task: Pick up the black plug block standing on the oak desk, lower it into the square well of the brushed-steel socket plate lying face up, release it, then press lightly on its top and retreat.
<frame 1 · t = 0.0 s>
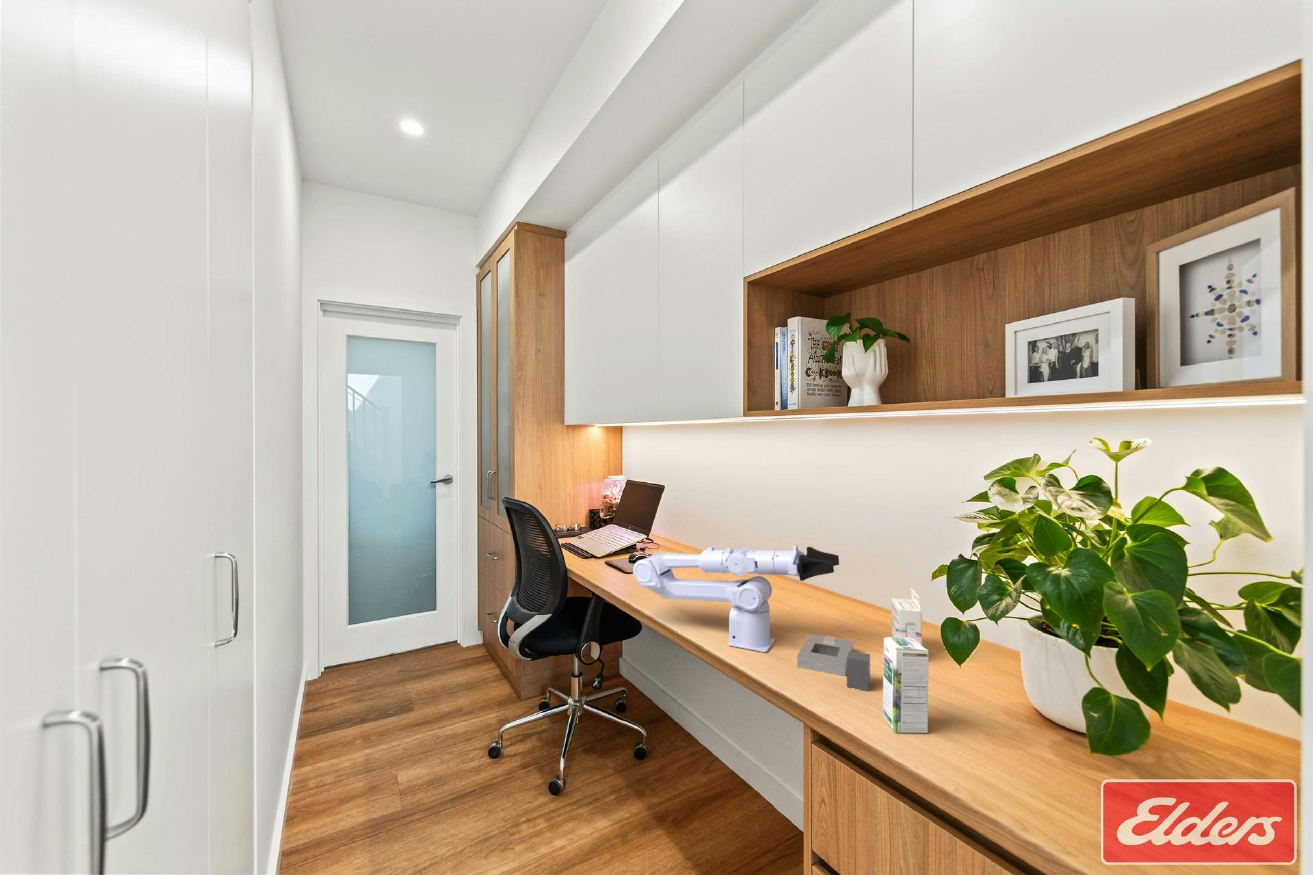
hand: (836, 563, 120), 22 cm above the table, tool horizontal, fingers open, 7 cm apart
socket plate: (826, 659, 121), on the table
plug: (858, 685, 108), on the table
syrup box: (905, 725, 93), on the table
ink cartridge box: (905, 655, 123), on the table
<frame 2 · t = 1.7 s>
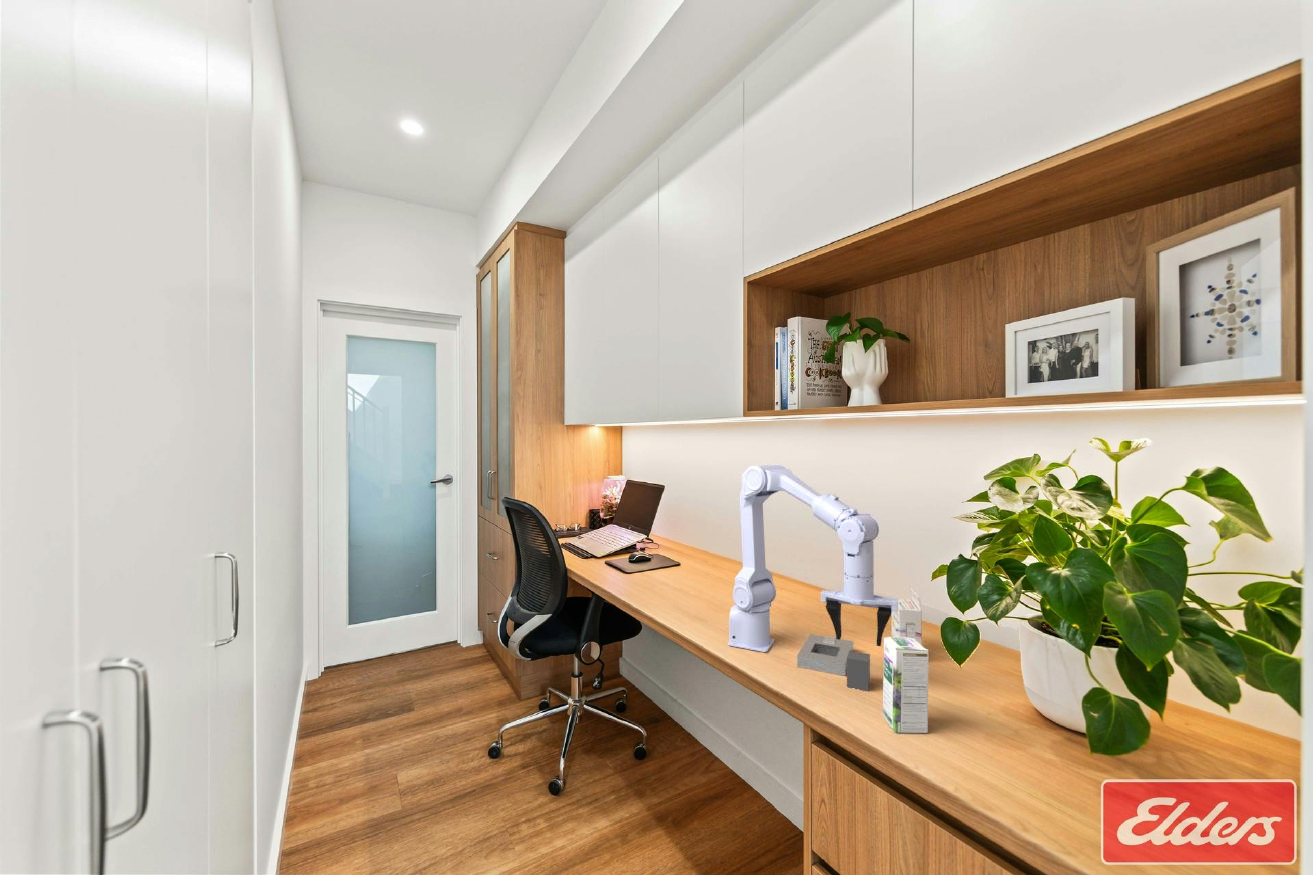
hand: (858, 640, 108), 9 cm above the table, tool pointing down, fingers open, 7 cm apart
nothing on the table moved.
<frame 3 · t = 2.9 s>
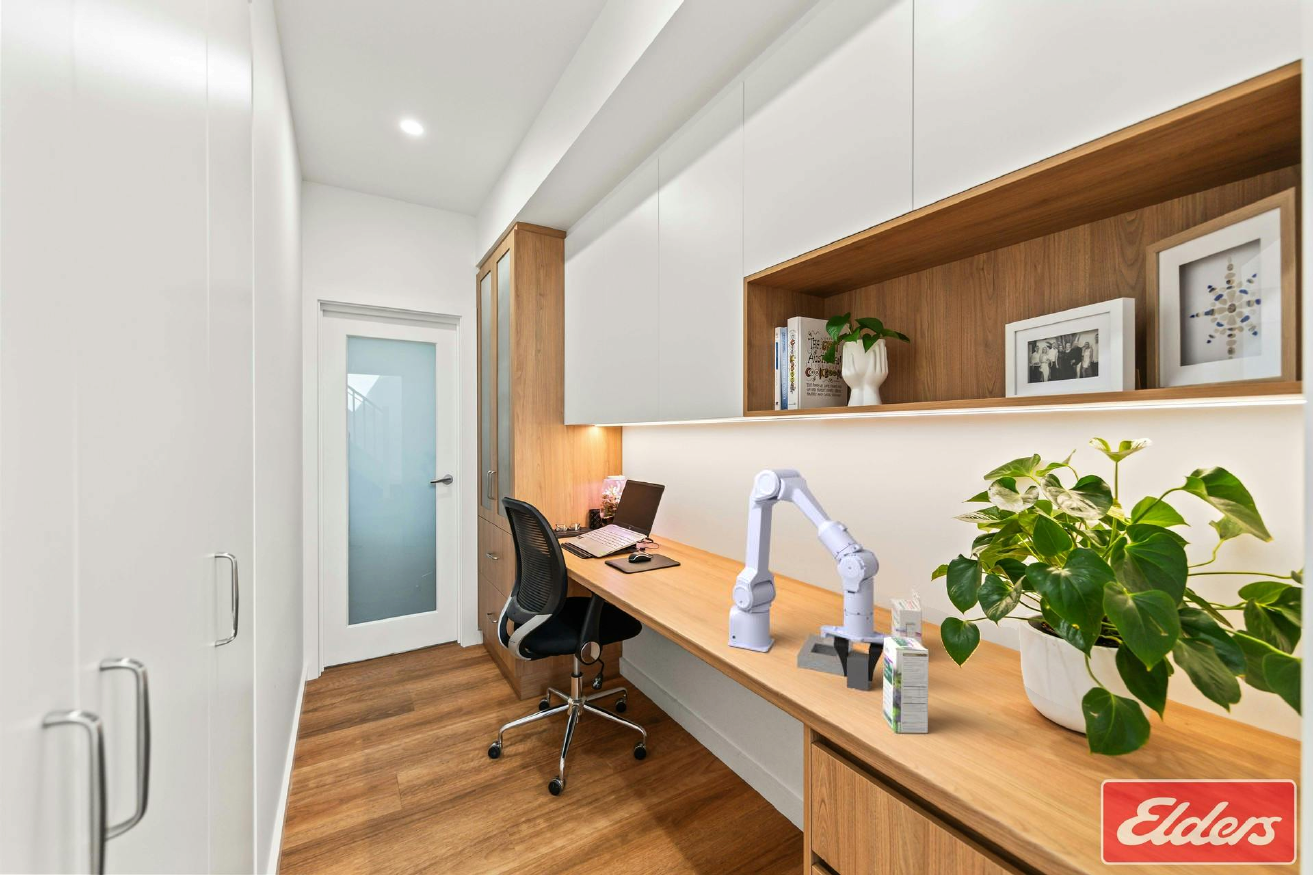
hand: (858, 677, 108), 2 cm above the table, tool pointing down, fingers closed on plug, 4 cm apart
plug: (858, 685, 108), on the table, touching gripper
everything else where it was.
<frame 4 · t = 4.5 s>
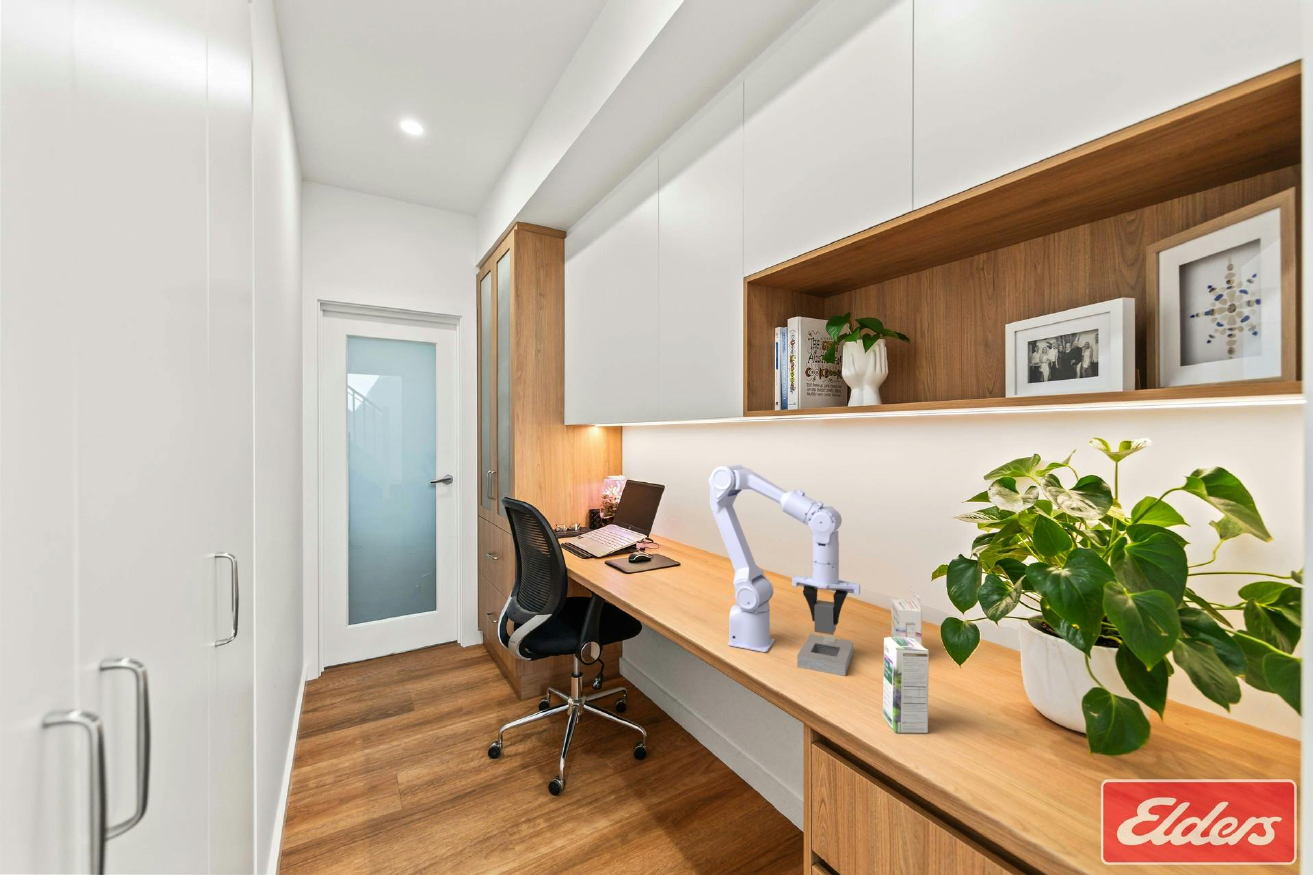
hand: (825, 621, 120), 9 cm above the table, tool pointing down, fingers closed on plug, 4 cm apart
plug: (825, 630, 119), point 7 cm above the table, touching gripper
everything else where it was.
when the fingers open (3 cm above the table, at t = 6.0 s): plug stays where it is, resting on socket plate.
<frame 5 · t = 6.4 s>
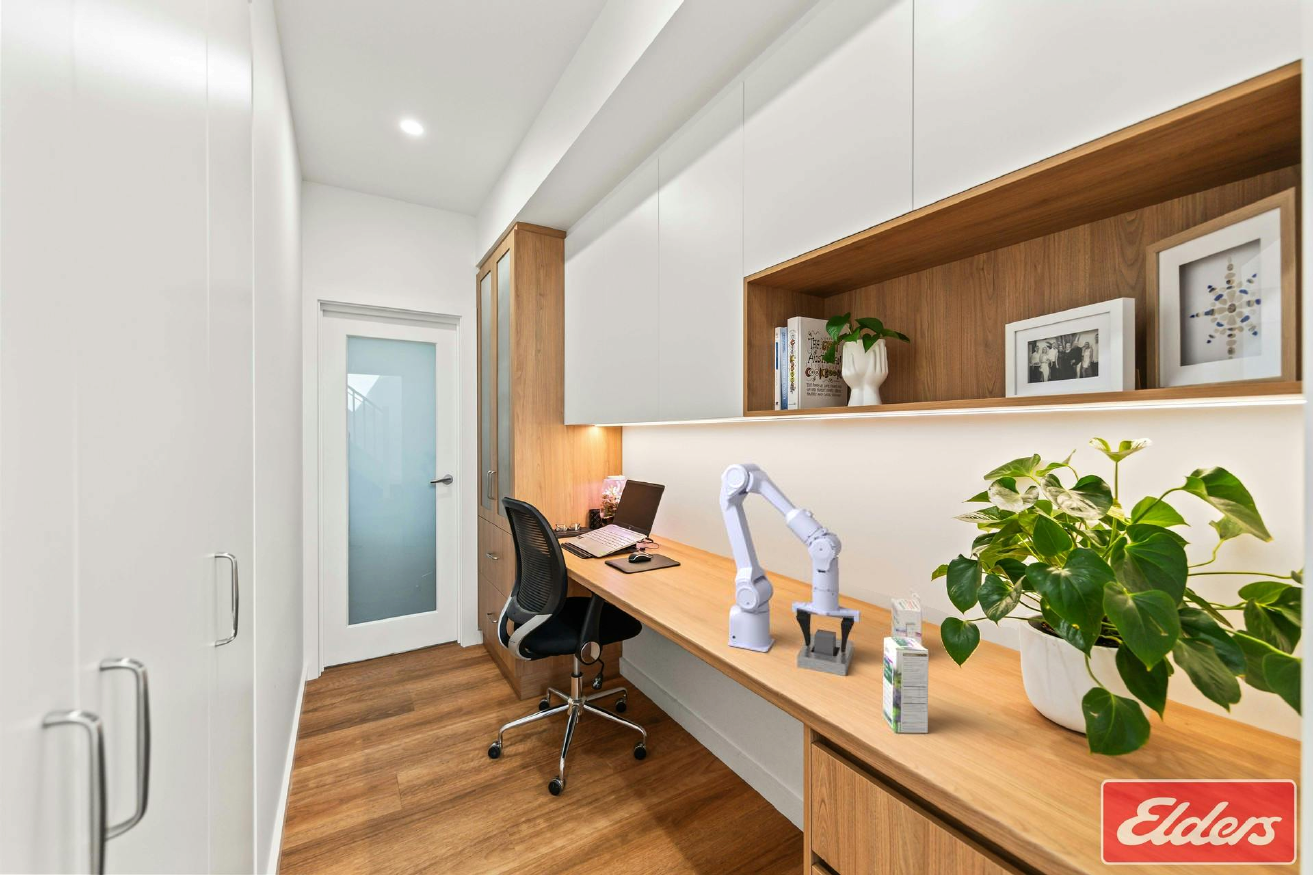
hand: (825, 647, 120), 3 cm above the table, tool pointing down, fingers open, 7 cm apart
plug: (825, 659, 120), resting on socket plate
everything else where it was.
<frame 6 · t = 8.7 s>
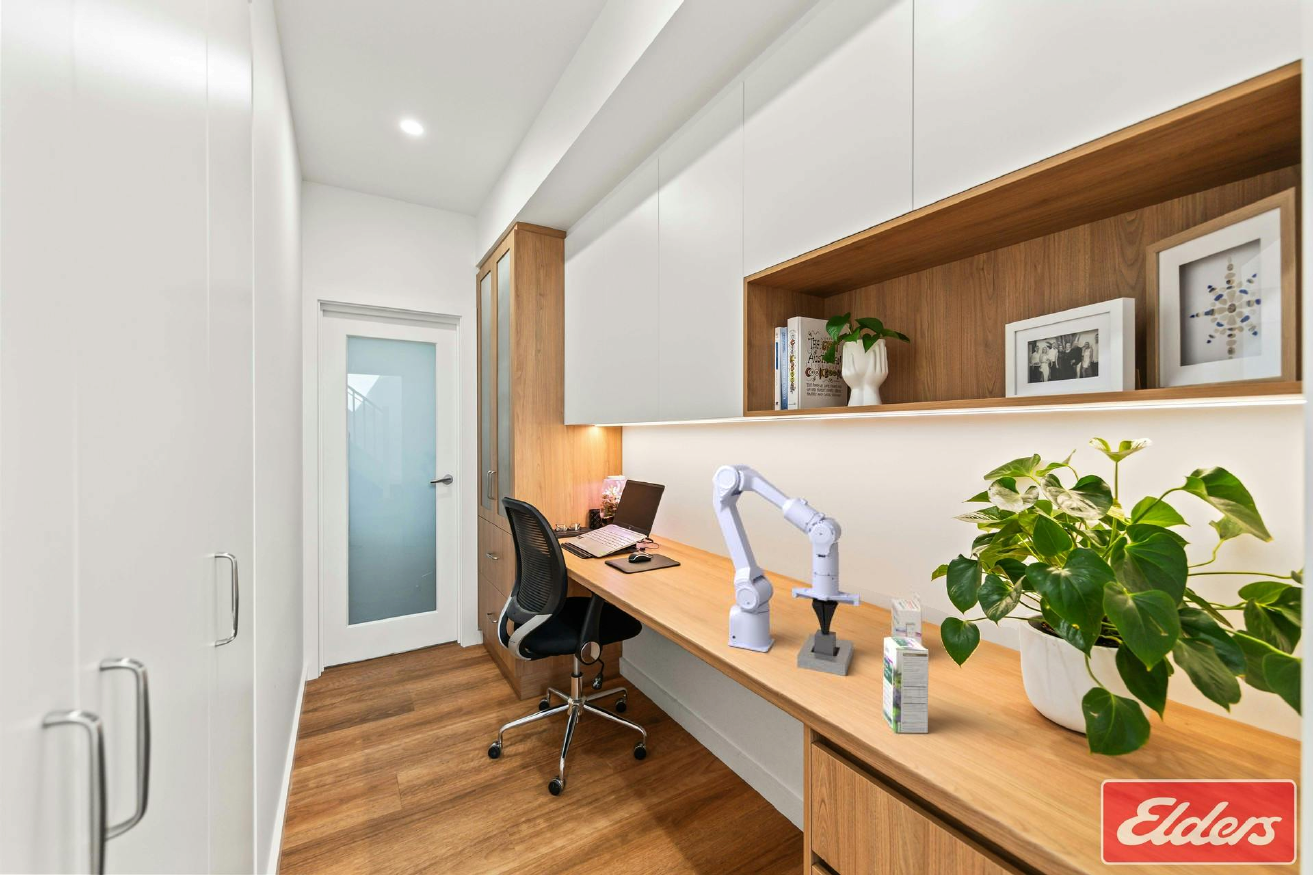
hand: (825, 632, 120), 6 cm above the table, tool pointing down, fingers closed
nothing on the table moved.
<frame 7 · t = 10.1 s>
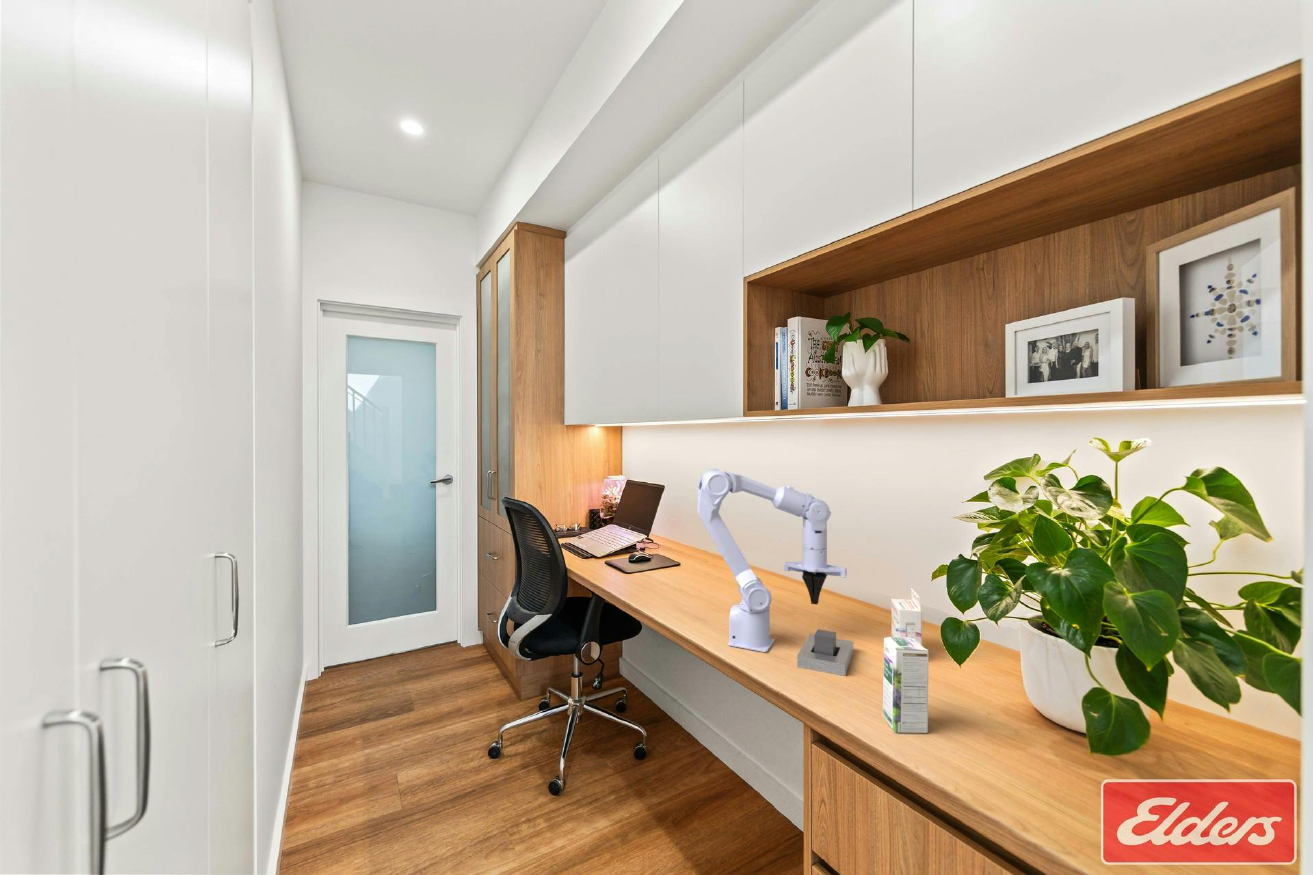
hand: (814, 603, 129), 10 cm above the table, tool pointing down, fingers closed
nothing on the table moved.
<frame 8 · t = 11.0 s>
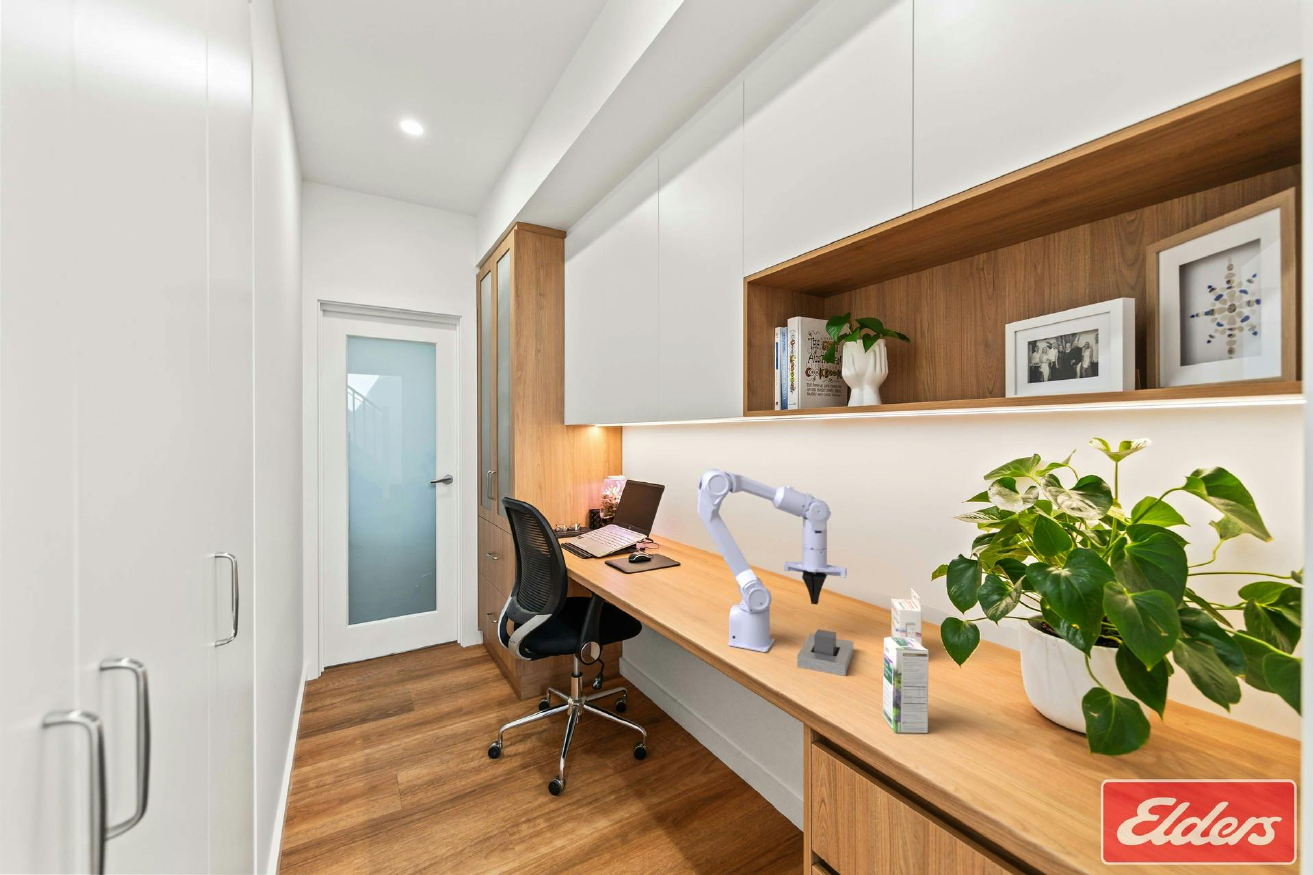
hand: (814, 603, 129), 10 cm above the table, tool pointing down, fingers closed
nothing on the table moved.
at the end: plug 0.1 cm from the target spot on the socket plate, point 0.2 cm above the socket plate's base; plug tilted 0°; the gripper is holding nothing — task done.
